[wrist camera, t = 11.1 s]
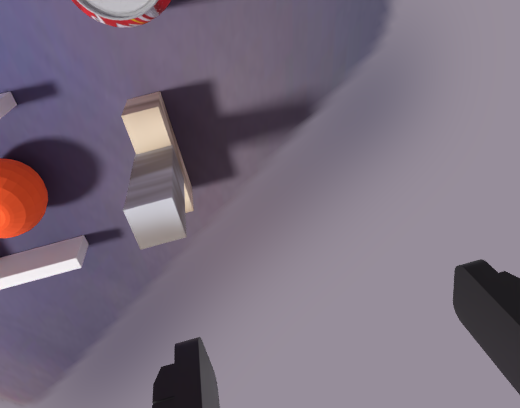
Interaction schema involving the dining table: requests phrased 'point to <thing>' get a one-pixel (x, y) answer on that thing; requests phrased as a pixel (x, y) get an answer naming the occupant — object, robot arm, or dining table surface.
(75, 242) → the box
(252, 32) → the dining table surface
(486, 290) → the robot arm
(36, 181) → the clementine
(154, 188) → the silver bent metal strip
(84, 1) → the soda can
